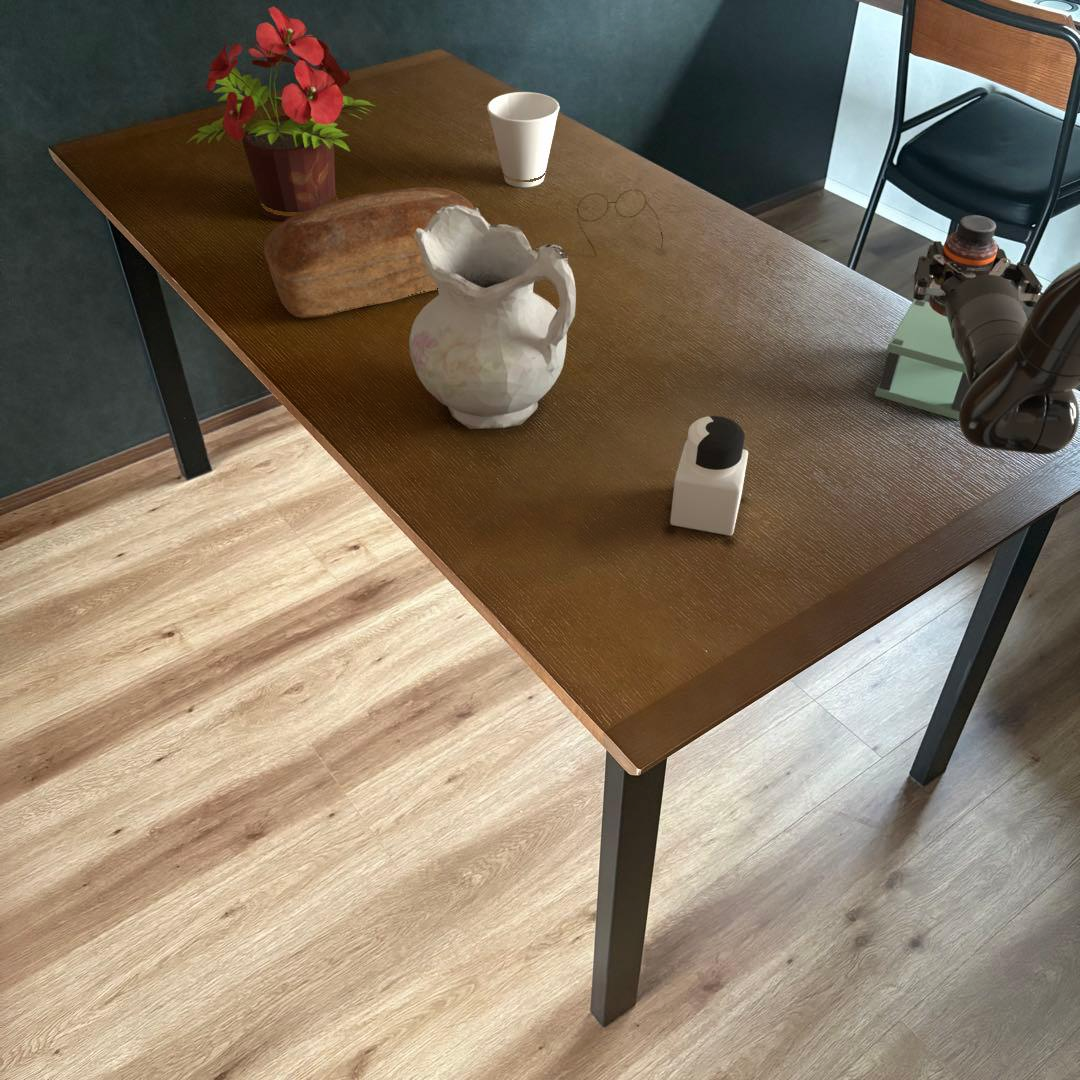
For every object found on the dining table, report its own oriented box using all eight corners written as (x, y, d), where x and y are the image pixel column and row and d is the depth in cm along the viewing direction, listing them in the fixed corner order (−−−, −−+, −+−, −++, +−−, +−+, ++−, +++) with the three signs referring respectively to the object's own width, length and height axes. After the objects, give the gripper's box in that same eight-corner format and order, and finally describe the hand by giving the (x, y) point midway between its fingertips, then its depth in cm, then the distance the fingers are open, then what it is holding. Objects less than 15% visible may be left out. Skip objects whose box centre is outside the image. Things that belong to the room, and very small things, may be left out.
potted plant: (284, 258, 165) (246, 56, 144) (185, 201, 179) (137, 9, 158) (427, 193, 181) (412, 1, 160) (326, 145, 194) (299, -37, 173)
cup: (509, 200, 178) (507, 126, 170) (477, 172, 186) (474, 100, 177) (571, 184, 183) (573, 111, 174) (538, 157, 190) (537, 86, 181)
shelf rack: (982, 372, 143) (1000, 320, 137) (960, 421, 136) (978, 368, 130) (900, 349, 147) (914, 298, 141) (874, 395, 139) (888, 343, 134)
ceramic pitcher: (601, 389, 142) (613, 206, 127) (553, 470, 128) (558, 276, 112) (451, 358, 148) (443, 180, 132) (388, 433, 134) (371, 243, 118)
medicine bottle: (741, 496, 125) (755, 414, 117) (732, 537, 121) (746, 454, 112) (680, 486, 127) (689, 403, 119) (669, 526, 122) (678, 443, 114)
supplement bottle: (917, 299, 134) (941, 214, 126) (959, 291, 135) (985, 207, 127) (944, 324, 130) (970, 238, 122) (987, 316, 131) (1016, 230, 123)
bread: (492, 284, 160) (489, 198, 150) (288, 332, 150) (271, 244, 141) (462, 247, 167) (457, 163, 158) (267, 291, 158) (249, 205, 149)
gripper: (1068, 299, 114) (1034, 224, 126) (929, 290, 116) (909, 217, 128) (1045, 358, 119) (1015, 281, 132) (912, 350, 121) (895, 274, 133)
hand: (963, 249), depth 130 cm, fingers closed on supplement bottle, 6 cm apart
